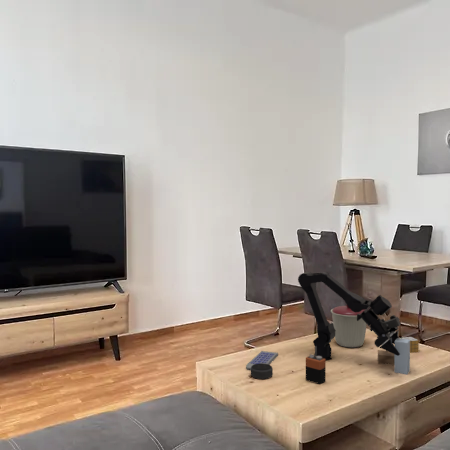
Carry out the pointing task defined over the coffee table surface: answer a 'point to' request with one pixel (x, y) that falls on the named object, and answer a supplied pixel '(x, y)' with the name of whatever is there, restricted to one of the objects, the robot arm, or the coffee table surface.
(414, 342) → the puzzle toy
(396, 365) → the slate block
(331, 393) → the coffee table surface
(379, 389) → the coffee table surface
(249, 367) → the remote control
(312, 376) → the battery
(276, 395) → the coffee table surface
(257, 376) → the smart speaker
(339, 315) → the canister
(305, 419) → the coffee table surface
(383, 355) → the walnut block
